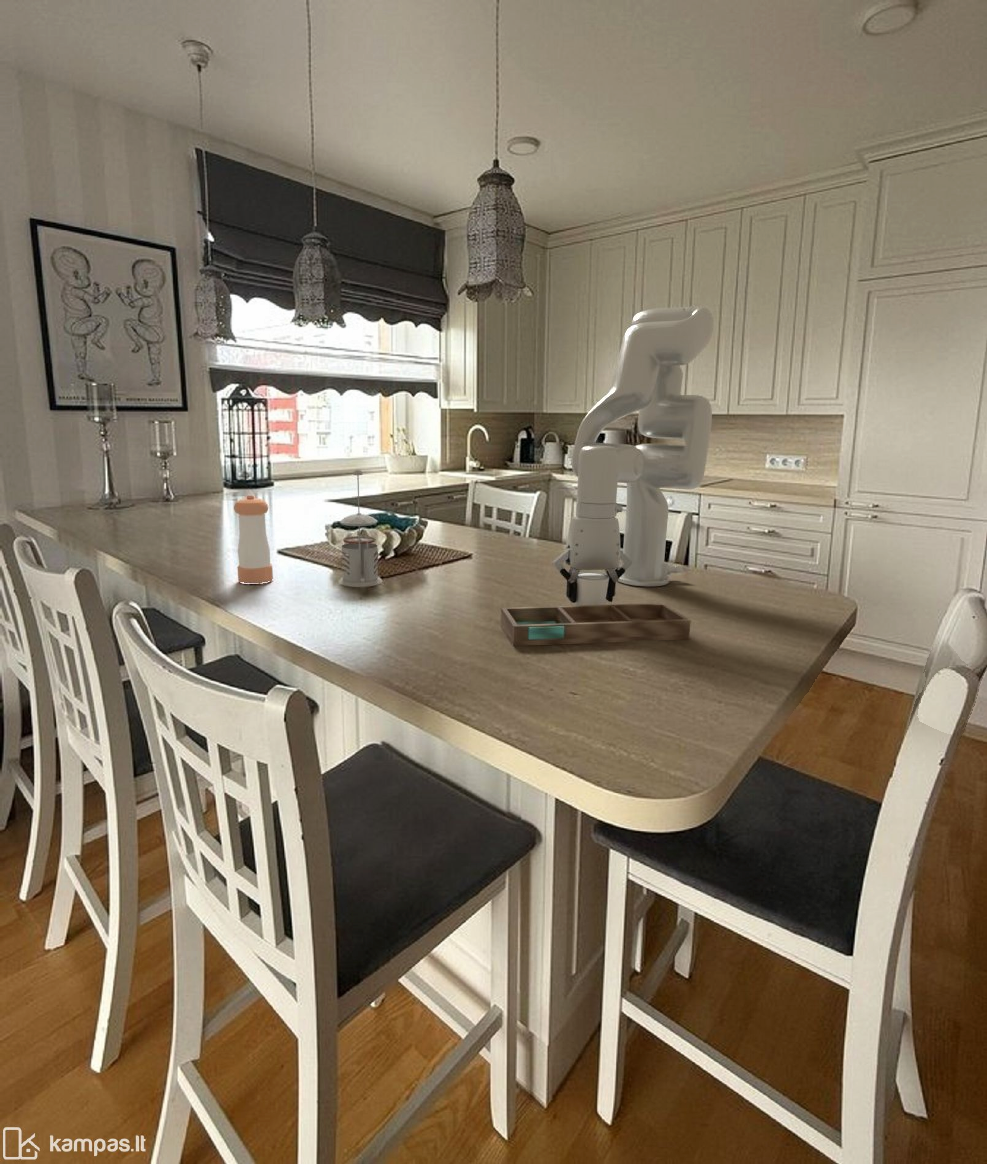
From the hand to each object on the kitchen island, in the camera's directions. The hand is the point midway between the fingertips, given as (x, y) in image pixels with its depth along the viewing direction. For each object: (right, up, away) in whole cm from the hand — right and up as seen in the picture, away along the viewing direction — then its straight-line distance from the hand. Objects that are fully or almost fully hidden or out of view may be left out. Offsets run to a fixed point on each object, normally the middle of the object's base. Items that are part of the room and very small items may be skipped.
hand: (590, 599), depth 133 cm
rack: (-1, -5, -14) cm, 15 cm away
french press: (-49, +3, +17) cm, 52 cm away
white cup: (0, -2, +1) cm, 2 cm away
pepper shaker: (-72, +4, +16) cm, 74 cm away
